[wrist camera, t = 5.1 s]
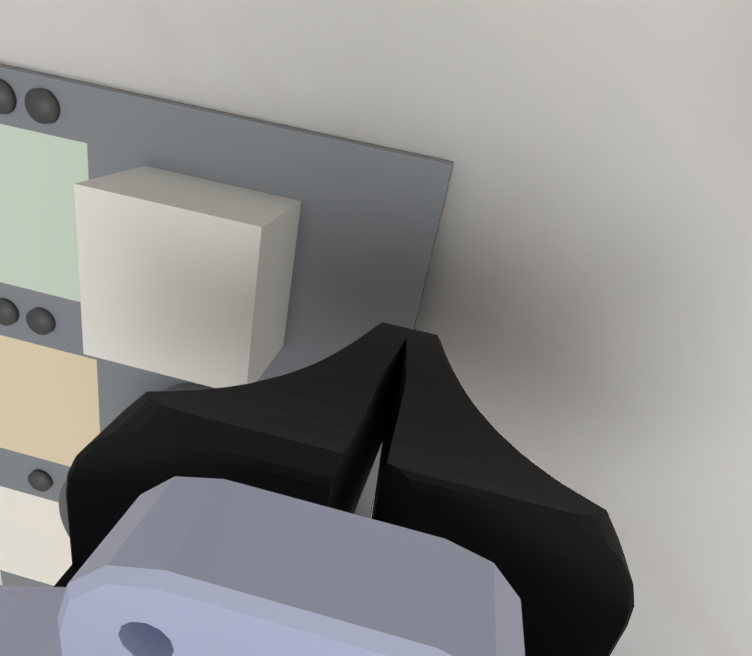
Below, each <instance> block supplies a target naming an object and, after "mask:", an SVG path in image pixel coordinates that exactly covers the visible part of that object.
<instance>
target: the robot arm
mask: <svg viewBox="0 0 752 656" xmlns="http://www.w3.org/2000/svg"><path fill="white" fill-rule="evenodd" d="M381 444H382V448H381V455H380V462H379V469H378V477H377V484H376V491H375V499H374V506H373V513H372V519H370V518H367V517H363V516H359V515H356V514H354V512H355V510H356V507H357V505H358V502H359V500H360V497H361V495H362V492H363V490H364V487H365V484H366V482H367V479H368V477H369V474H370V472H371V469H372V467H373V464H374V462H375V459H376V457H377V454H378V452H379V449H380V446H381ZM66 502H67V513H68V524H69V536H70V547H71V558H72V565H71V566H70V567H69V569H68V570H67V571H66V572H65V573H64V575H63V576H62V577H61V578H60V579H59V581H58V582H57V583H56V584H55V585H54V586H53V587H38V586H0V656H610V654H611V653H612V651H613V649H614V647H615V646H616V644H617V642H618V641H619V639H620V637H621V635H622V634H623V632H624V630H625V629H626V627H627V625H628V622H629V619H630V616H631V613H632V611H633V608H634V592H633V582H632V579H631V576H630V572H629V569H628V566H627V563H626V559H625V556H624V553H623V550H622V547H621V544H620V541H619V539H618V536H617V534H616V532H615V529H614V527H613V525H612V523H611V520H610V518H609V515H608V513H607V510H605V509H603V508H602V507H600V506H598V505H597V504H595V503H593V502H591V501H590V500H588V499H586V498H585V497H583V496H581V495H580V494H578V493H576V492H575V491H573V490H571V489H570V488H568V487H566V486H565V485H563V484H561V483H560V482H558V481H557V480H555V479H554V478H553V477H551V476H550V475H549V474H547V473H546V472H544V471H543V470H542V469H540V468H539V467H537V466H536V465H535V464H533V463H532V462H531V461H530V460H528V459H527V458H526V457H525V456H523V455H522V454H521V453H520V452H519V451H518V450H517V449H515V448H514V447H513V446H512V445H511V444H510V443H509V442H508V441H507V440H506V439H504V438H503V437H502V436H501V435H500V434H499V433H498V432H497V431H496V430H495V429H494V428H493V427H492V425H491V424H490V423H489V422H488V421H487V420H486V418H485V417H484V416H483V415H482V414H481V413H480V412H479V410H478V409H477V408H476V407H475V405H474V404H473V403H472V401H471V400H470V398H469V397H468V395H467V394H466V392H465V391H464V389H463V388H462V386H461V384H460V382H459V381H458V379H457V377H456V375H455V373H454V371H453V369H452V367H451V365H450V363H449V361H448V359H447V357H446V354H445V352H444V349H443V347H442V344H441V341H440V339H439V338H438V336H437V335H434V334H430V333H426V332H422V331H417V330H413V329H409V328H405V327H401V326H397V325H393V324H388V323H384V322H382V323H380V324H379V325H377V326H375V327H374V328H373V329H371V330H370V331H369V332H367V333H366V334H364V335H363V336H362V337H360V338H359V339H357V340H356V341H354V342H353V343H351V344H349V345H348V346H346V347H345V348H343V349H342V350H340V351H338V352H336V353H335V354H333V355H331V356H329V357H327V358H325V359H323V360H321V361H319V362H317V363H315V364H312V365H310V366H307V367H305V368H302V369H299V370H297V371H294V372H291V373H288V374H285V375H281V376H277V377H273V378H269V379H265V380H261V381H257V382H253V383H248V384H243V385H237V386H231V387H223V388H214V389H204V390H185V391H147V392H146V393H144V394H143V395H142V396H141V397H139V398H138V399H137V400H136V401H134V402H133V403H132V404H131V405H130V406H128V407H127V408H126V409H125V410H124V411H123V412H122V413H121V414H119V415H118V416H117V417H116V418H115V419H114V420H113V421H112V422H111V423H110V424H109V425H108V426H107V427H106V428H105V429H104V430H103V431H102V432H101V433H100V434H98V435H97V436H96V437H95V438H94V439H93V440H92V441H91V442H90V443H89V444H88V445H87V446H86V447H85V448H84V449H83V450H82V451H81V452H79V453H78V454H77V455H76V457H75V459H74V461H73V463H72V465H71V467H70V469H69V471H68V473H67V485H66Z"/></svg>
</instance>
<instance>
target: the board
mask: <svg viewBox="0 0 752 656" xmlns="http://www.w3.org/2000/svg"><path fill="white" fill-rule="evenodd" d="M143 166H149V167H154V168H158V169H162V170H167V171H171V172H176V173H180V174H184V175H189V176H193V177H198V178H202V179H207V180H211V181H215V182H220V183H224V184H229V185H233V186H237V187H242V188H246V189H251V190H255V191H260V192H264V193H268V194H273V195H277V196H282V197H286V198H290V199H295V200H299V201H301V208H300V216H299V224H298V232H297V240H296V248H295V256H294V264H293V273H292V281H291V289H290V297H289V305H288V313H287V321H286V329H285V337H284V345H283V347H282V348H281V350H280V351H279V352H278V354H277V355H276V356H275V358H274V359H273V360H272V362H271V363H270V364H269V366H268V367H267V368H266V370H265V371H264V372H263V374H262V375H261V376H260V378H259V379H258V380H257V381H261V380H265V379H269V378H273V377H277V376H281V375H285V374H288V373H291V372H294V371H297V370H299V369H302V368H305V367H307V366H310V365H312V364H315V363H317V362H319V361H321V360H323V359H325V358H327V357H329V356H331V355H333V354H335V353H336V352H338V351H340V350H342V349H343V348H345V347H346V346H348V345H349V344H351V343H353V342H354V341H356V340H357V339H359V338H360V337H362V336H363V335H364V334H366V333H367V332H369V331H370V330H371V329H373V328H374V327H375V326H377V325H379V324H380V323H382V322H384V323H388V324H393V325H397V326H401V327H405V328H409V329H413V330H414V326H415V322H416V318H417V314H418V309H419V305H420V301H421V297H422V292H423V288H424V284H425V280H426V276H427V271H428V267H429V263H430V259H431V255H432V250H433V246H434V242H435V238H436V233H437V229H438V225H439V221H440V217H441V212H442V208H443V204H444V200H445V195H446V191H447V187H448V183H449V179H450V174H451V170H452V166H453V162H452V161H447V160H443V159H438V158H433V157H429V156H424V155H420V154H415V153H410V152H406V151H401V150H396V149H392V148H387V147H383V146H378V145H373V144H369V143H364V142H359V141H355V140H350V139H345V138H341V137H336V136H332V135H327V134H322V133H318V132H313V131H308V130H304V129H299V128H294V127H290V126H285V125H281V124H276V123H271V122H267V121H262V120H257V119H253V118H248V117H244V116H239V115H234V114H230V113H225V112H220V111H216V110H211V109H206V108H202V107H197V106H193V105H188V104H183V103H179V102H174V101H169V100H165V99H160V98H155V97H151V96H146V95H142V94H137V93H132V92H128V91H123V90H118V89H114V88H109V87H104V86H100V85H95V84H91V83H86V82H81V81H77V80H72V79H67V78H63V77H58V76H54V75H49V74H44V73H40V72H35V71H30V70H26V69H21V68H16V67H12V66H7V65H3V64H0V571H1V577H2V583H3V586H38V587H53V586H54V585H55V584H56V583H57V582H58V581H59V579H60V578H61V577H62V576H63V575H64V573H65V572H66V571H67V570H68V569H69V567H70V566H71V565H72V558H71V547H70V537H69V536H68V534H67V532H66V530H65V528H64V526H63V523H62V520H61V517H60V512H59V495H60V491H61V488H62V486H63V484H64V482H65V481H66V479H67V473H68V471H69V469H70V467H71V465H72V463H73V461H74V459H75V457H76V455H77V454H78V453H79V452H81V451H82V450H83V449H84V448H85V447H86V446H87V445H88V444H89V443H90V442H91V441H92V440H93V439H94V438H95V437H96V436H97V435H98V434H100V433H101V432H102V431H103V430H104V429H105V428H106V427H107V426H108V425H109V424H110V423H111V422H112V421H113V420H114V419H115V418H116V417H117V416H118V415H119V414H121V413H122V412H123V411H124V410H125V409H126V408H127V407H128V406H130V405H131V404H132V403H133V402H134V401H136V400H137V399H138V398H139V397H141V396H142V395H143V394H144V393H146V392H147V391H163V390H165V389H166V388H168V387H170V386H173V385H176V384H179V383H184V382H190V381H186V380H182V379H178V378H174V377H170V376H166V375H163V374H159V373H155V372H151V371H147V370H143V369H139V368H135V367H132V366H128V365H124V364H120V363H116V362H112V361H108V360H104V359H101V358H97V357H93V356H89V355H85V354H83V336H82V318H81V301H80V283H79V265H78V248H77V230H76V212H75V195H74V183H78V182H82V181H86V180H90V179H95V178H99V177H103V176H107V175H111V174H115V173H119V172H123V171H127V170H131V169H135V168H139V167H143ZM381 448H382V444H381V446H380V449H379V452H378V454H377V457H376V459H375V462H374V464H373V467H372V469H371V472H370V474H369V477H368V479H367V482H366V484H365V487H364V490H363V492H362V495H361V497H360V500H359V502H358V505H357V507H356V510H355V512H356V514H357V515H359V516H363V517H367V518H369V516H370V512H371V508H372V503H373V499H374V495H375V491H376V484H377V477H378V469H379V462H380V455H381Z"/></svg>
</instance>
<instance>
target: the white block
mask: <svg viewBox="0 0 752 656" xmlns="http://www.w3.org/2000/svg"><path fill="white" fill-rule="evenodd" d="M74 195H75V212H76V230H77V248H78V265H79V283H80V301H81V318H82V336H83V354H85V355H89V356H93V357H97V358H101V359H104V360H108V361H112V362H116V363H120V364H124V365H128V366H132V367H135V368H139V369H143V370H147V371H151V372H155V373H159V374H163V375H166V376H170V377H174V378H178V379H182V380H186V381H190V382H194V383H197V384H201V385H205V386H209V387H213V388H223V387H231V386H237V385H243V384H248V383H253V382H257V380H258V379H259V378H260V376H261V375H262V374H263V372H264V371H265V370H266V368H267V367H268V366H269V364H270V363H271V362H272V360H273V359H274V358H275V356H276V355H277V354H278V352H279V351H280V350H281V348H282V347H283V345H284V337H285V329H286V321H287V313H288V305H289V297H290V289H291V281H292V273H293V264H294V256H295V248H296V240H297V232H298V224H299V216H300V208H301V201H299V200H295V199H290V198H286V197H282V196H277V195H273V194H268V193H264V192H260V191H255V190H251V189H246V188H242V187H237V186H233V185H229V184H224V183H220V182H215V181H211V180H207V179H202V178H198V177H193V176H189V175H184V174H180V173H176V172H171V171H167V170H162V169H158V168H154V167H149V166H143V167H139V168H135V169H131V170H127V171H123V172H119V173H115V174H111V175H107V176H103V177H99V178H95V179H90V180H86V181H82V182H78V183H74Z"/></svg>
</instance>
